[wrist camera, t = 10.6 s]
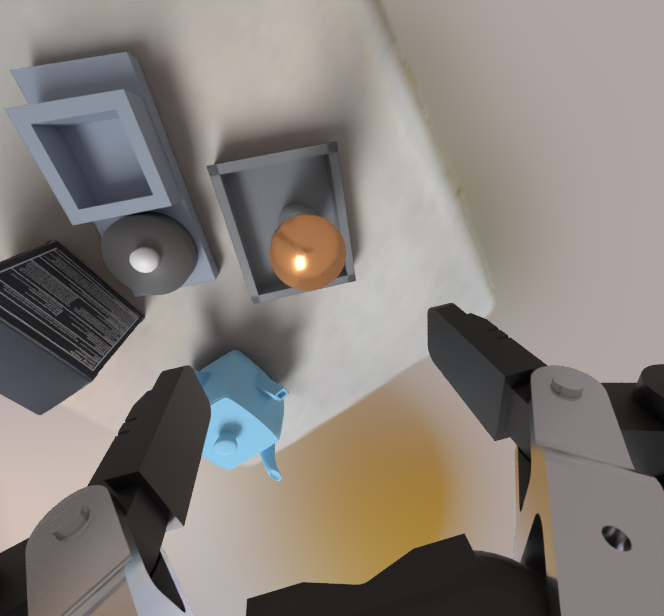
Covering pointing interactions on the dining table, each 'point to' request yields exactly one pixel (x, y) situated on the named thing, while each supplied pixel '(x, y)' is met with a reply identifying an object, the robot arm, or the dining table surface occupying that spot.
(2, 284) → the small box
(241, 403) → the teapot
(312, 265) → the copper capped glass jar
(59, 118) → the block
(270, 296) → the tray
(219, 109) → the dining table surface
